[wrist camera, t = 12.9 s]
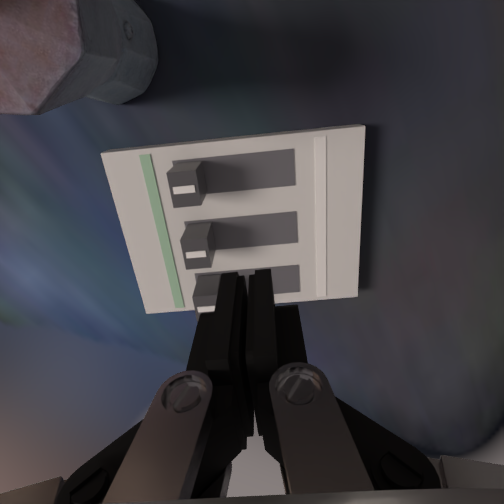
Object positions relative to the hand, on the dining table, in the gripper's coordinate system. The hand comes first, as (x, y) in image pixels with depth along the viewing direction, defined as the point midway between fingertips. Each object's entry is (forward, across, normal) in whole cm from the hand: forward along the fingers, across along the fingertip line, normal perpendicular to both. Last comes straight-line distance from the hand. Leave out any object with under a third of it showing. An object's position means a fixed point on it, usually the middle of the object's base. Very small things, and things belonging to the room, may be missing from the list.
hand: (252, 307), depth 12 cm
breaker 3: (+21, +6, +13) cm, 26 cm away
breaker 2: (+21, +6, +7) cm, 23 cm away
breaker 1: (+22, +6, +1) cm, 22 cm away
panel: (+24, +2, +7) cm, 25 cm away
